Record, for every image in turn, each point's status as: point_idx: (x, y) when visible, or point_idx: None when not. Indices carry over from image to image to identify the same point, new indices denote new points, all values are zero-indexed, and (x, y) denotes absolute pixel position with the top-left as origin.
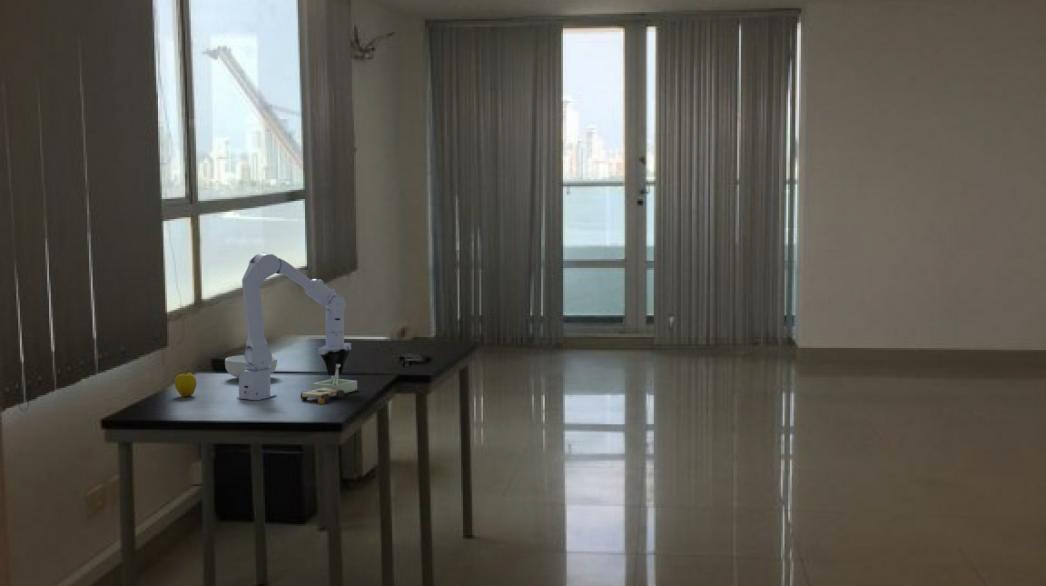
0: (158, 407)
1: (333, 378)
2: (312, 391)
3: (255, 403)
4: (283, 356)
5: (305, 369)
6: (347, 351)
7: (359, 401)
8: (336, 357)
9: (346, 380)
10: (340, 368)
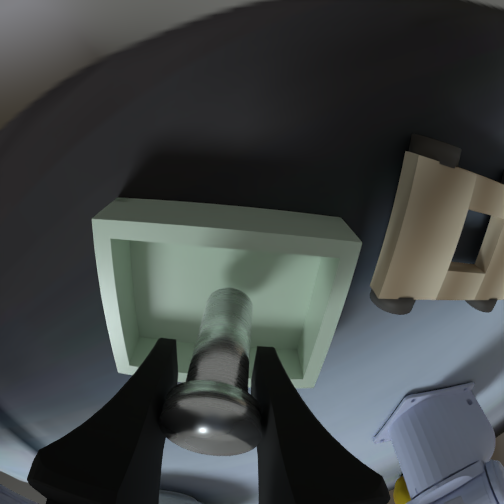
0: (496, 428)
1: (250, 339)
2: (487, 281)
3: (500, 361)
4: (4, 469)
5: (19, 449)
6: (49, 490)
7: (450, 23)
8: (321, 476)
9: (116, 293)
10: (165, 375)
